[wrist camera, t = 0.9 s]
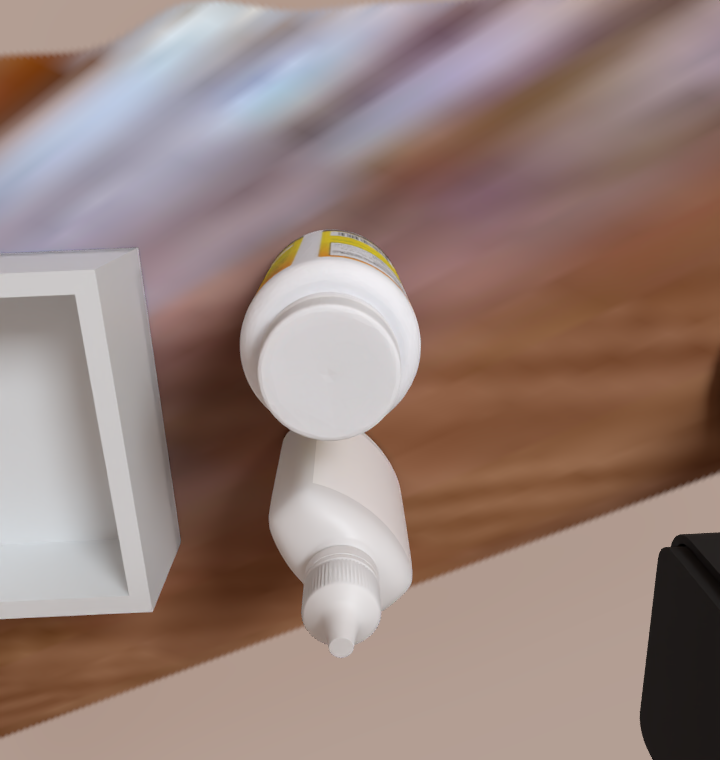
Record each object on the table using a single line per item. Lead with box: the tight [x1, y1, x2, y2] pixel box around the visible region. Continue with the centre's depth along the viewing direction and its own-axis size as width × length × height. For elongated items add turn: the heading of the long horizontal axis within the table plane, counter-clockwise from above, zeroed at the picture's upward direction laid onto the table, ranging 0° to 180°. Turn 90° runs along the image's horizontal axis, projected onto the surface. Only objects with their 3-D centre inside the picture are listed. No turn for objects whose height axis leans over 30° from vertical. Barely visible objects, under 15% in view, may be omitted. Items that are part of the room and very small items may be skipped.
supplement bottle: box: [240, 230, 421, 441], centre depth 23 cm, size 6×6×10 cm
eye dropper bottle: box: [269, 430, 412, 658], centre depth 25 cm, size 4×6×12 cm
